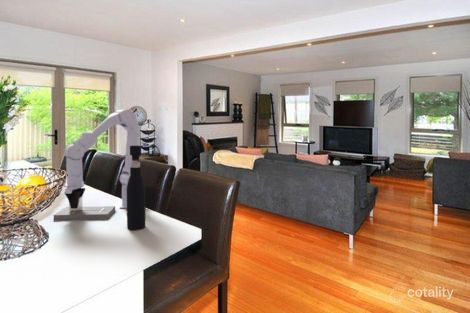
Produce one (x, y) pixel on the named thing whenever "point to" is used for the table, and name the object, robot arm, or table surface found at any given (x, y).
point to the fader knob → (78, 205)
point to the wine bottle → (135, 193)
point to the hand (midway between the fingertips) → (75, 207)
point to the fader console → (85, 213)
